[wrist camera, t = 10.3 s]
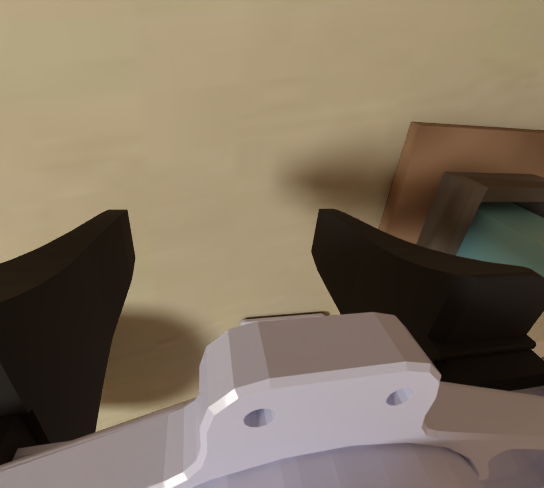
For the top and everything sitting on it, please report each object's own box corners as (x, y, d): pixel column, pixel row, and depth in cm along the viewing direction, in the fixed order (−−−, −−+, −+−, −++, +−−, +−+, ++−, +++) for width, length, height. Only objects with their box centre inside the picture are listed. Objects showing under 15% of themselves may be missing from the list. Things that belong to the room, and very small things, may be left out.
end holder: (488, 276, 31) (525, 304, 28) (361, 284, 28) (384, 317, 25) (570, 132, 24) (633, 146, 21) (411, 121, 21) (453, 136, 18)
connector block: (478, 240, 27) (571, 303, 20) (438, 241, 26) (521, 309, 19) (499, 196, 24) (612, 251, 18) (456, 197, 24) (557, 254, 17)
